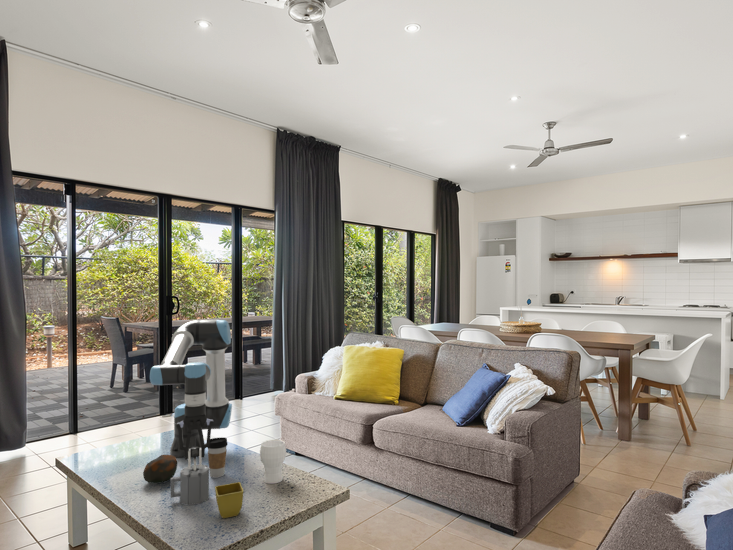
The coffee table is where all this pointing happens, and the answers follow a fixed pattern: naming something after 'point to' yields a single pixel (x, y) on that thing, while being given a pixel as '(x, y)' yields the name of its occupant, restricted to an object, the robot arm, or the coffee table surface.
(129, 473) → the coffee table surface
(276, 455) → the cup
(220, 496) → the flower pot
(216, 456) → the coffee cup
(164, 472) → the rock
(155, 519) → the coffee table surface
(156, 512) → the coffee table surface
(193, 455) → the plunger
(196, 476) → the press carafe
